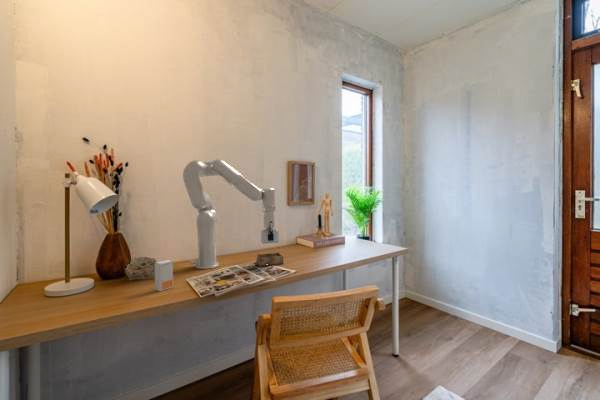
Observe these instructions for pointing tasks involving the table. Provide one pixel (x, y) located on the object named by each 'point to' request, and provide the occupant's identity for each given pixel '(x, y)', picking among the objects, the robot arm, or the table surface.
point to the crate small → (265, 236)
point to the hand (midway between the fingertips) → (269, 239)
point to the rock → (141, 268)
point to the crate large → (270, 259)
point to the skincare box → (163, 275)
